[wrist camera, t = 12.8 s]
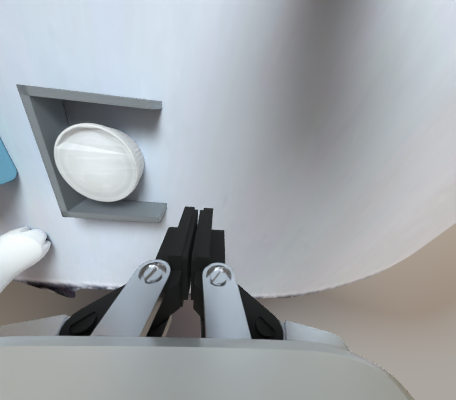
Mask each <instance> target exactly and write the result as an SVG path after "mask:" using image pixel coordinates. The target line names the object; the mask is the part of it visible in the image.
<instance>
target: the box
mask: <svg viewBox="0 0 456 400" xmlns="http://www.w3.org/2000/svg"><path fill="white" fill-rule="evenodd" d="M16 85H17V84H16ZM17 88H18V91H19V94H20V97H21V100H22V103H23V105H24V108H25V111H26V114H27V117H28V120H29V122H30V125H31V128H32V131H33V134H34V137H35V140H36V142H37V145H38V148H39V151H40V154H41V157H42V159H43V162H44V165H45V168H46V171H47V174H48V177H49V179H50V182H51V185H52V188H53V191H54V194H55V196H56V199H57V202H58V205H59V208H60V211H61V214H62V216H63V217H74V218H90V219H106V220H122V221H138V222H154V223H159V222H160V221H161V219H162V217H163V215H164V213H165V211H166V209H167V203H154V202H140V201H126V200H118V201H113V202H103V201H97V200H93V199H90V198H88V197H86V196H84V195H82V194H80V193H79V192H77V191H76V190H75V189H73V188H72V187H71V186H70V185H69V184H68V183H67V182H66V181H65V180H64V178H63V177H62V175H61V174H60V172H59V170H58V168H57V166H56V163H55V159H54V146H55V142H56V139H57V137H58V136H59V135H60V133H61V132H62V131H64V130H65V129H66V128H68V127H69V125H68V121H67V117H66V113H65V109H64V106H63V102H62V99H64V100H73V101H82V102H91V103H99V104H108V105H117V106H126V107H134V108H143V109H162V101H154V100H146V99H137V98H129V97H120V96H112V95H104V94H95V93H87V92H78V91H70V90H61V89H53V88H44V87H35V86H26V85H17Z"/></svg>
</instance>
